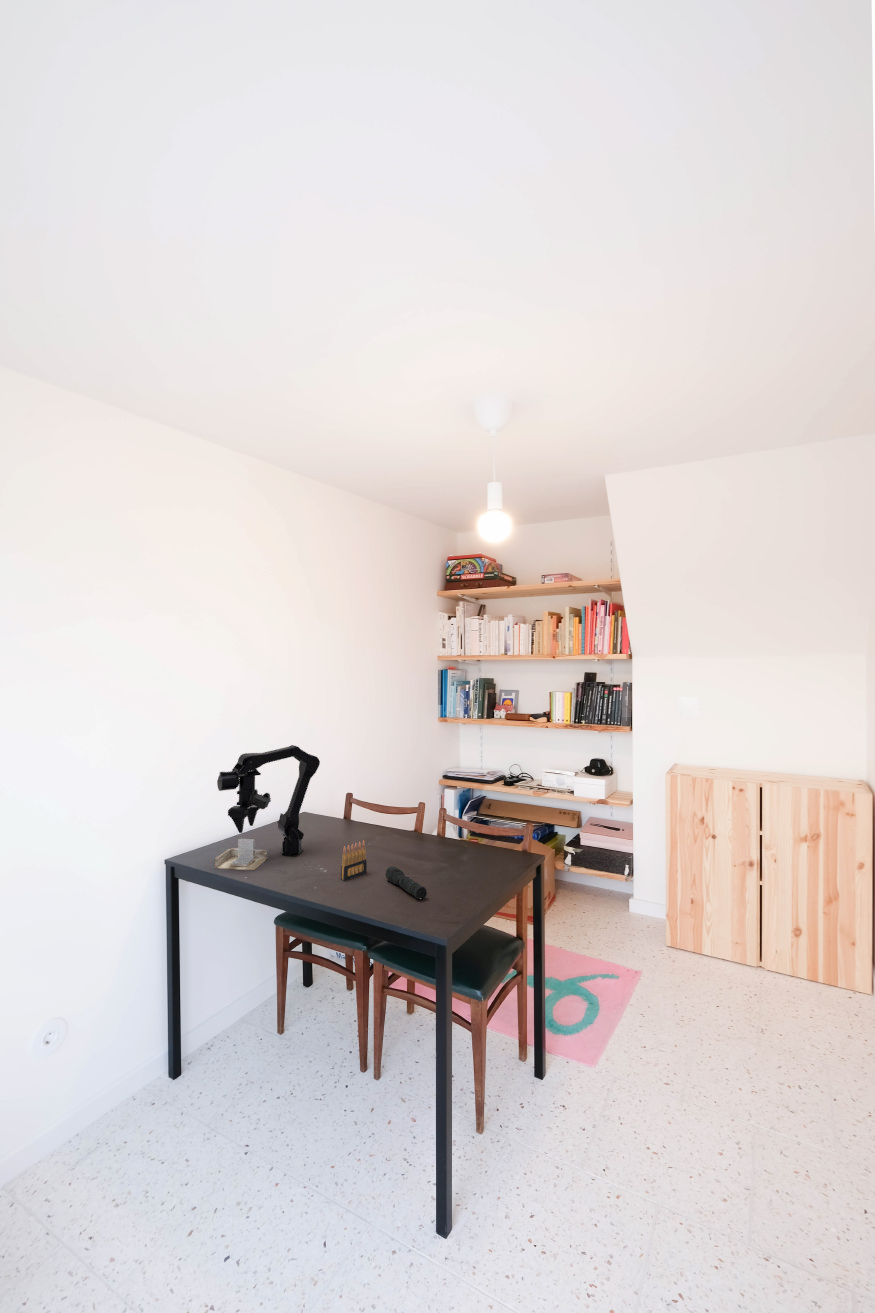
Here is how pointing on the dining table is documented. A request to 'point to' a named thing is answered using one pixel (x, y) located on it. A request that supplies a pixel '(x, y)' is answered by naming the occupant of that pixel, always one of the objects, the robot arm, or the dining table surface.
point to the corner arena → (232, 854)
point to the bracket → (245, 853)
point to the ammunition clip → (353, 861)
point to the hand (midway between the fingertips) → (246, 829)
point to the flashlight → (405, 882)
